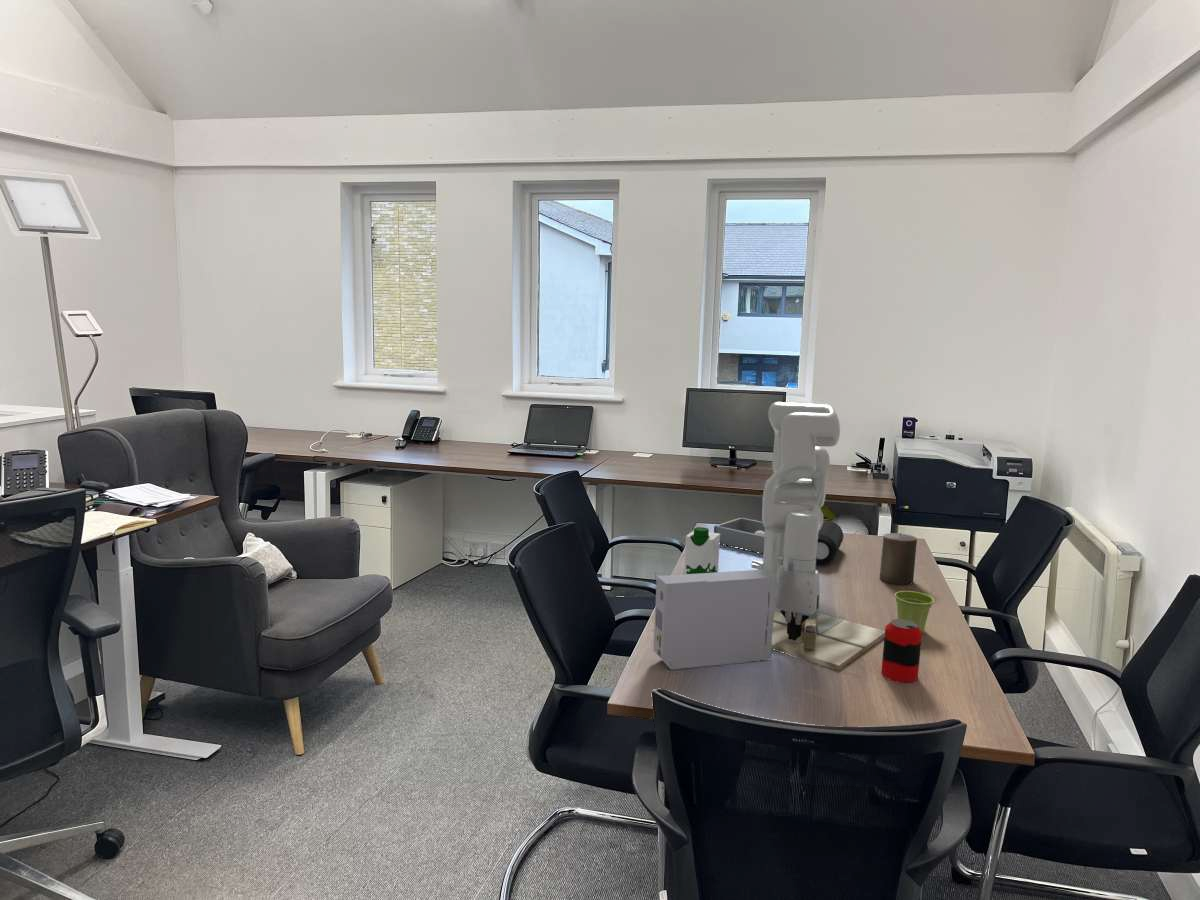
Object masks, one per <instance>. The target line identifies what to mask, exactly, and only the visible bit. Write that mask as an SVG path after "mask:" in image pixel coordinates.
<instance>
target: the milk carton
mask: <svg viewBox="0 0 1200 900" xmlns="http://www.w3.org/2000/svg"><path fill="white" fill-rule="evenodd" d="M719 543H720V534H719V533H714V532H711V531H710V530H709V528H707V527H703V526H701V527H700V526H698V527H694V528H693V530H692V531H690V533H688V534H687V535H685V549H684V550H685V554H684V570H683V571H684V574H700V573H715V572H719V562H720V561H719V558H720V544H719Z"/></svg>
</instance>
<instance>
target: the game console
mask: <svg viewBox="0 0 1200 900" xmlns="http://www.w3.org/2000/svg"><path fill="white" fill-rule="evenodd" d="M776 576H777V575H776V574H774V573H773V572H771V571H770V570H768V569H761V570H758V569H751V570H749V569H747V570H736V571H735V570H733V571H718V572H715V573H700V574H671V575H668V574H667V575H656V582H655V584H656V587H655V609H654V628H653V629H654V634H653V652H654V653H655V654H656V655H657V656H658V657H659V658H660V659H661V661H662V662H663V663H664V664H665V665H666V666H667V667H668V669H670V670H672V671H673V670H681V669H682V670H683V669H692V668H702V667H712V666H722V665H732V664H741V663H742V662H744V663H751V661H754V662H761V661H760V660H764V661H770V660H771V659H772V651H773V650H772V634H773V620H774V605H775V593H776V590H775V589H776ZM769 659H770V660H769Z"/></svg>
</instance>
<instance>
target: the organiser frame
mask: <svg viewBox="0 0 1200 900" xmlns="http://www.w3.org/2000/svg"><path fill="white" fill-rule="evenodd" d="M756 531H763V532H765V528H764V525H763V521H759V520H757V519H750V518H745V517H739V518H735V519H731V520H728V521H726V522H723V523H719V524H717V525H714V526H713V533H719V534H720V544H724V545H723V546H725V545H728V546H727V547H729V546H732V547H731V548H733V547H738V548H743V549H747V550H750V551H749V552H751V551H754V552H753V553H755V552H759V553H763V550H764V536H762V535H757V534H755V532H756ZM720 544H719V545H720ZM738 548H737V549H738ZM759 553H758V554H759Z"/></svg>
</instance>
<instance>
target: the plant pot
mask: <svg viewBox="0 0 1200 900" xmlns="http://www.w3.org/2000/svg"><path fill="white" fill-rule="evenodd" d="M894 597H895V599H896V600H895V601H896V607H897V619H904V620H909V621H912V622H914V623H916V624H917V625H918V627H919V628H920V630H921V631H922V633H924V631H925V628H926V623H927V620H928V616H929V612H930V609H931V607H932V605H933V604H934V603H935V599H934V597H932V596H931V595H929V594H926V593H922V592H918V591H914V590H913V591H911V590H900V591H897V592H895V593H894Z"/></svg>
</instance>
